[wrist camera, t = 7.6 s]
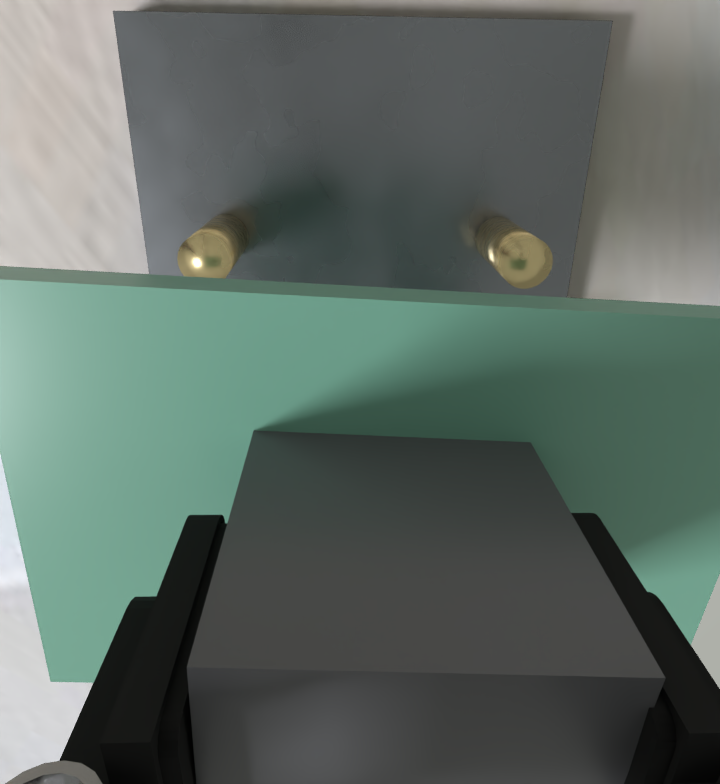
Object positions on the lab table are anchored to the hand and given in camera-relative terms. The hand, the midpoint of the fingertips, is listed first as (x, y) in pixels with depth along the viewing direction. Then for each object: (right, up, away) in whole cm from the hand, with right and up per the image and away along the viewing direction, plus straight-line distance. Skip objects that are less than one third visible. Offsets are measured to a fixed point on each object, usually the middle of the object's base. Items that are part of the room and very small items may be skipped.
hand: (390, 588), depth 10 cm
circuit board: (0, +1, +2) cm, 2 cm away
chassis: (-1, +7, +14) cm, 16 cm away
